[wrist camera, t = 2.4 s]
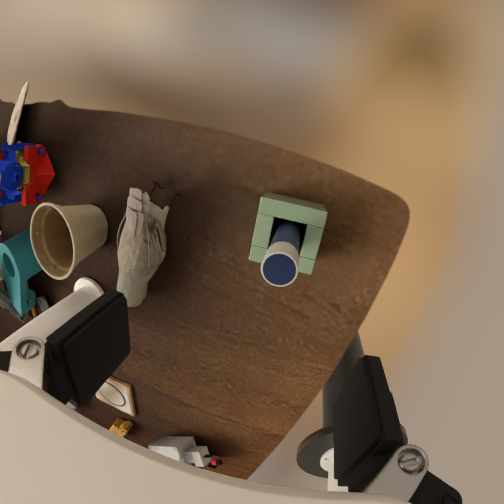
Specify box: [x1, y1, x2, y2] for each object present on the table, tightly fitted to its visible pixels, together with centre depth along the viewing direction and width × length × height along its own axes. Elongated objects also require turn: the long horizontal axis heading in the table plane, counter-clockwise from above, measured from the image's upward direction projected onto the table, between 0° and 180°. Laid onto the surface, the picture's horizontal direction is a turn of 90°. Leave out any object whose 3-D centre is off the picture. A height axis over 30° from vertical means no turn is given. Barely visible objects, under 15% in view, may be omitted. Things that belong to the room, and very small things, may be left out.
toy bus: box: [109, 418, 133, 437], centre depth 48 cm, size 3×10×4 cm
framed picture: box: [96, 376, 136, 417], centre depth 44 cm, size 10×10×1 cm
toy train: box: [0, 141, 55, 207], centre depth 26 cm, size 10×16×15 cm, turn 79°
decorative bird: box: [117, 178, 186, 307], centre depth 29 cm, size 5×16×8 cm, turn 158°
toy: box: [148, 436, 225, 469], centre depth 41 cm, size 12×17×15 cm
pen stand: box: [249, 192, 328, 275], centre depth 27 cm, size 6×6×5 cm
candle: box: [0, 277, 104, 351], centre depth 26 cm, size 7×7×25 cm
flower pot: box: [30, 202, 108, 280], centre depth 30 cm, size 9×9×9 cm
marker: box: [261, 219, 300, 287], centre depth 23 cm, size 2×2×13 cm
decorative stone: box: [7, 82, 29, 151], centre depth 30 cm, size 8×14×2 cm, turn 170°
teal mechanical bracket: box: [0, 229, 43, 316], centre depth 36 cm, size 7×15×8 cm
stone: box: [37, 296, 50, 312], centre depth 42 cm, size 12×2×5 cm
